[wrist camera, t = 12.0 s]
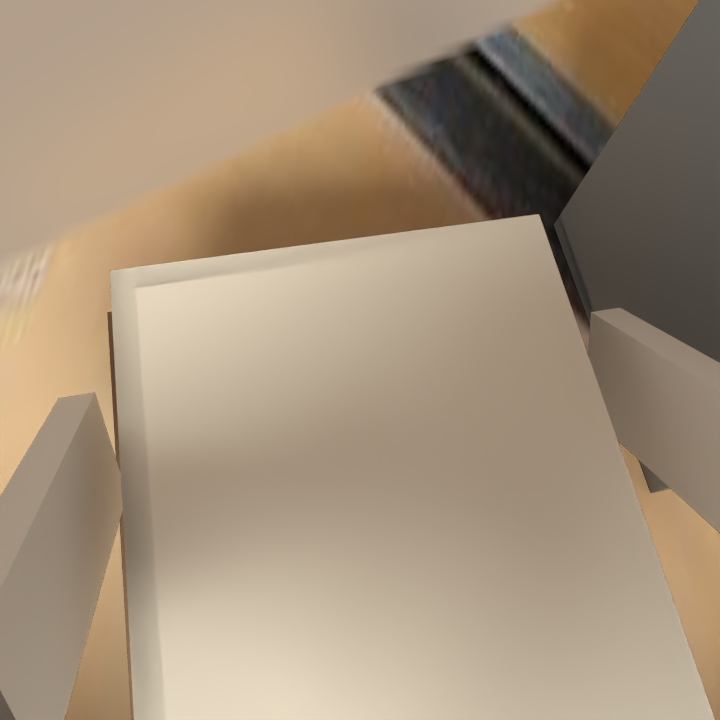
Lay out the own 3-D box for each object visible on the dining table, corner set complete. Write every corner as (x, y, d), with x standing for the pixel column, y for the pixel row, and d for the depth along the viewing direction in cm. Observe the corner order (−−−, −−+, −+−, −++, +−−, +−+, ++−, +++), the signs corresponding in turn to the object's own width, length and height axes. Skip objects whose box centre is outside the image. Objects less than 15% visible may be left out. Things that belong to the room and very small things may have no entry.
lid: (483, 308, 18) (538, 214, 14) (607, 734, 14) (744, 803, 10) (165, 356, 17) (109, 270, 13) (207, 835, 13) (147, 970, 9)
